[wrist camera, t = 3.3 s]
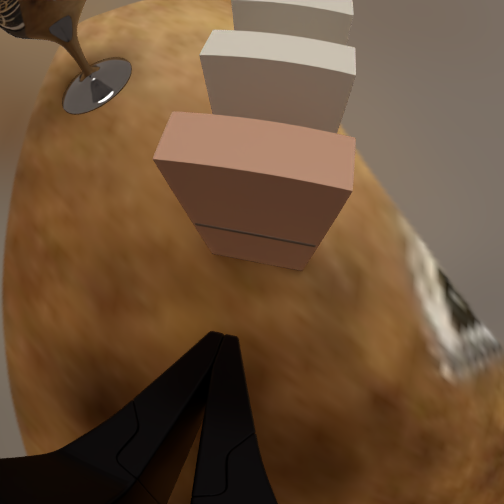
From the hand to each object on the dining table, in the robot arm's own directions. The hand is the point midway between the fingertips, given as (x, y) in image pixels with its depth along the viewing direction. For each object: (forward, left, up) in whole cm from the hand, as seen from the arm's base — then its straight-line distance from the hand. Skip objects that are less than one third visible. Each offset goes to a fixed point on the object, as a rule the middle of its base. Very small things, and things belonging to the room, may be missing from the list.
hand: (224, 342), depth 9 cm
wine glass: (+23, +8, -7) cm, 25 cm away
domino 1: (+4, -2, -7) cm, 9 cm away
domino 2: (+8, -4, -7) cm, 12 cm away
